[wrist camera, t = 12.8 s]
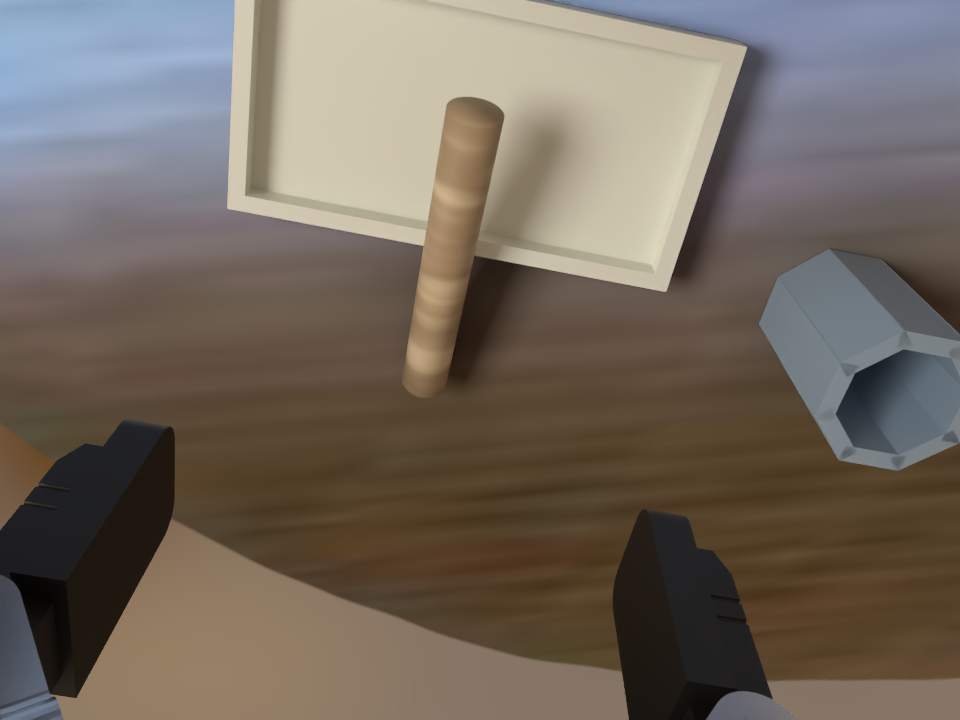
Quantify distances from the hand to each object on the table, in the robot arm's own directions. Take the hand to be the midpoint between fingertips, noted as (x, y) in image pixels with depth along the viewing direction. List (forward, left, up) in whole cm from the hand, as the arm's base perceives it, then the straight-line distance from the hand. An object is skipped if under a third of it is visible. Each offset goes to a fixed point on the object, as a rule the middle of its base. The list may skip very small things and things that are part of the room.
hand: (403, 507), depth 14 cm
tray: (0, 0, -28) cm, 28 cm away
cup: (+6, +20, -28) cm, 35 cm away
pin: (-2, 0, -25) cm, 25 cm away
